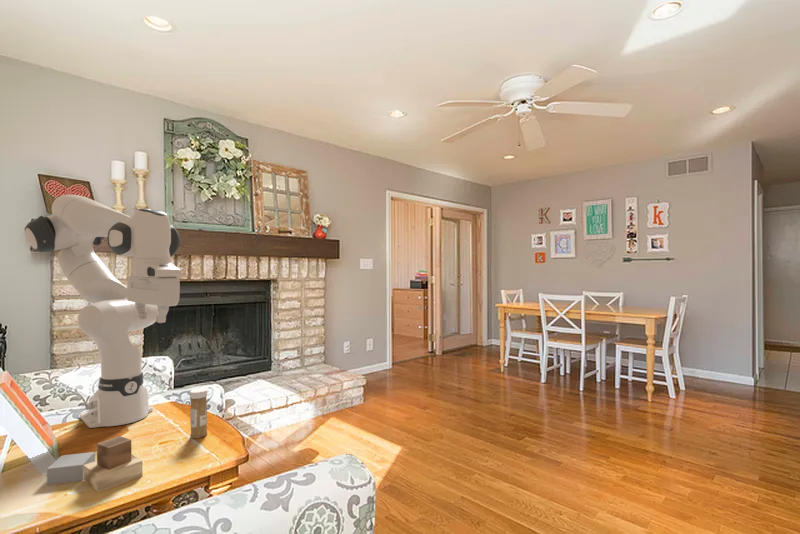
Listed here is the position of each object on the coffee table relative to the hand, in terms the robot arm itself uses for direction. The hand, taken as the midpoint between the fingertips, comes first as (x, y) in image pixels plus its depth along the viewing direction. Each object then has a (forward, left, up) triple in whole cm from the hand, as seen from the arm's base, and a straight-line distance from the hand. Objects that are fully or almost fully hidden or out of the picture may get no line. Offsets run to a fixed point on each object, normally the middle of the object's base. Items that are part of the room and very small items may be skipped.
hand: (151, 320), depth 115 cm
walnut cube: (+7, -12, -32) cm, 35 cm away
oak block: (+7, -13, -36) cm, 38 cm away
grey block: (-3, -17, -36) cm, 40 cm away
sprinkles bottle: (+1, +13, -35) cm, 38 cm away
